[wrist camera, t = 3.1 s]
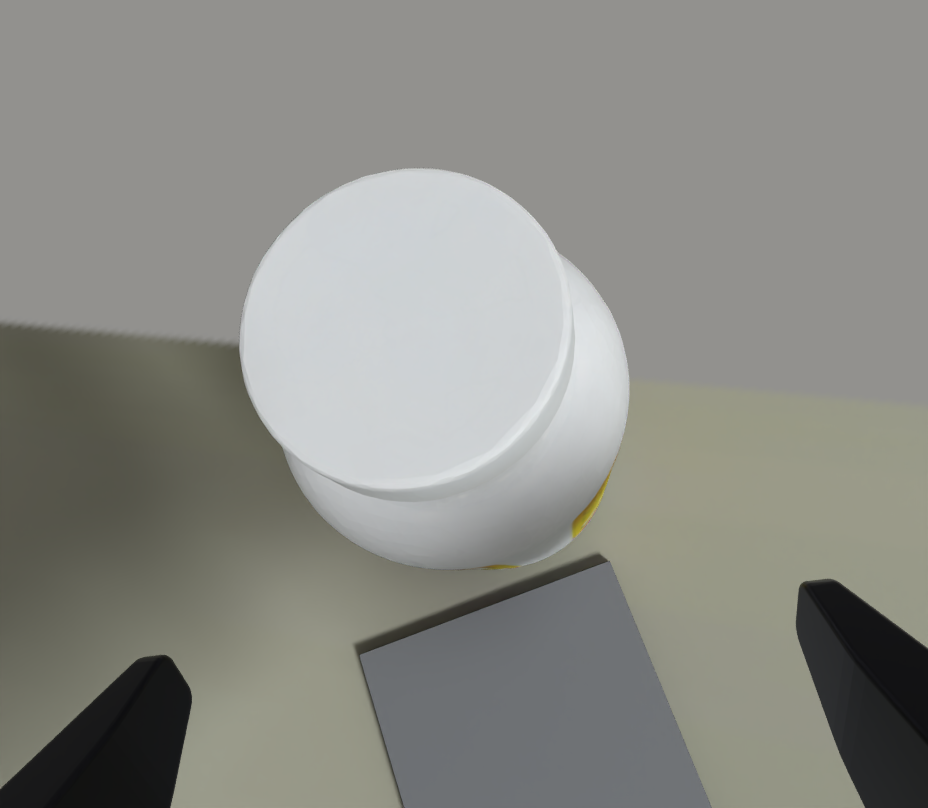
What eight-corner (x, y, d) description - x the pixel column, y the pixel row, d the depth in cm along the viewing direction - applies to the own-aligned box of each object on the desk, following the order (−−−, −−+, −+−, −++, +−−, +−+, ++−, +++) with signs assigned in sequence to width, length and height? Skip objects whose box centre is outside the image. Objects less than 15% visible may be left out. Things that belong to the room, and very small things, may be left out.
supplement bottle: (551, 329, 22) (527, 28, 10) (644, 515, 20) (758, 433, 8) (368, 413, 22) (121, 223, 10) (443, 604, 21) (253, 657, 8)
